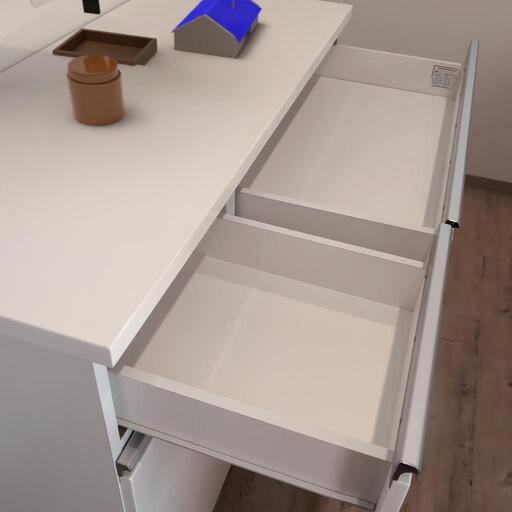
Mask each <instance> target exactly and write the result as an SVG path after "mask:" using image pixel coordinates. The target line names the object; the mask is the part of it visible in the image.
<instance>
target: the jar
mask: <svg viewBox="0 0 512 512" xmlns="http://www.w3.org/2000/svg"><path fill="white" fill-rule="evenodd" d="M66 80H67V87H68V94H69V99H70V104H71V111H72V115H73V116H72V117H73V119H74V120H75V121H76V122H77V123H79V124H82V125H85V126H91V127H103V126H104V127H105V126H110V125H113V124H116V123H118V122H121V121H122V120H123V119H124V118H125V116H126V108H125V97H124V89H123V80H122V72H121V70H120V69H119V66H118V64H117V62H116V61H115V60H114V59H113V58H110V57H107V56H102V55H86V56H80V57H77V58H74V57H73V58H72V59H71V60H70V61H68V62H67V73H66Z"/></svg>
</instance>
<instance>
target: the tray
mask: <svg viewBox="0 0 512 512" xmlns="http://www.w3.org/2000/svg"><path fill="white" fill-rule="evenodd" d="M51 51H52V55H53V56H61V57H68V58H73V59H74V58H77V57H80V56H86V55H102V56H107V57H110V58H113V59H114V60H115V61H116V62H117V65H125V66H131V67H135V66H146V64H147V63H148V62H149V61H150V60H151V59H152V58H153V56H155V55H156V53H157V52H158V38H157V37H150V36H141V35H135V34H127V33H121V32H112V31H105V30H97V29H89V28H83V27H82V28H80V29H78V30H77V31H76V32H75V33H73V34H72V35H70V36H69V37H68V38H67V39H65V40H64V41H63V42H62V43H60V44H59V45H58V46H56V47H55V48H53V50H51Z"/></svg>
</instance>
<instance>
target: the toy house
mask: <svg viewBox="0 0 512 512" xmlns="http://www.w3.org/2000/svg"><path fill="white" fill-rule="evenodd" d="M262 9H263V8H262V7H260V4H258V3H257V2H256V1H254V0H200V1H199V3H198V4H197V5H196V6H195V7H194V8H193V9H192V10H191V11H190V12H189V13H188V14H187V15H186V16H185V17H184V18H183V19H182V20H181V21H180V22H179V23H178V24H177V25H176V27H175V28H174V29H172V31H170V33H173V42H174V43H173V44H174V50H176V51H182V52H183V51H184V52H190V53H195V54H196V53H197V54H203V55H211V56H218V57H224V58H231V59H236V58H237V57H238V55H239V53H240V52H241V50H242V49H243V47H244V45H245V36H246V34H251V35H252V33H253V31H254V29H255V27H256V26H257V25H258V24H259V14H260V13H261V11H262Z"/></svg>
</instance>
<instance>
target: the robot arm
mask: <svg viewBox="0 0 512 512" xmlns="http://www.w3.org/2000/svg"><path fill="white" fill-rule="evenodd" d="M81 2H82V8H83V14H89V15H100V14H101V5H100V0H81Z"/></svg>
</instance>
